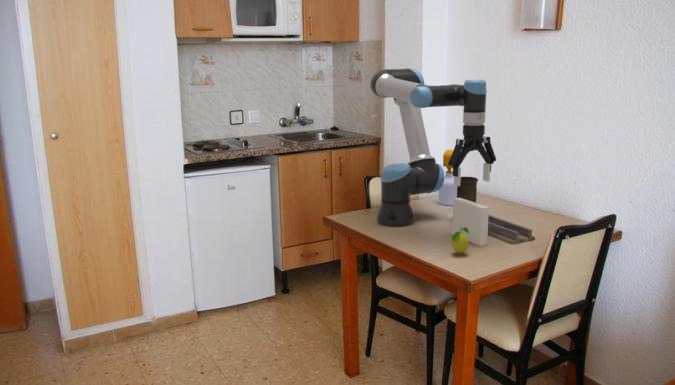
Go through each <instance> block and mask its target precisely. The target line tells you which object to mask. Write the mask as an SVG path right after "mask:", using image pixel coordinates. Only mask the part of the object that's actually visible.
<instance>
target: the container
mask: <svg viewBox="0 0 675 385" xmlns="http://www.w3.org/2000/svg"><path fill="white" fill-rule="evenodd" d="M478 182H479V179H478V178H477V177H474V176H461V181H460V186H457V198H462V199H466V200H469V201H472V202H475V203H477V190H478V189H477V187H478V186H477V185H478Z"/></svg>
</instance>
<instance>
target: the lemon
mask: <svg viewBox="0 0 675 385" xmlns="http://www.w3.org/2000/svg"><path fill="white" fill-rule="evenodd" d="M461 229H462V228H461ZM462 230H463V231H464V232H466V233H469V231H468V228H467V227H464V228H463V229H462ZM460 231H461V230H460ZM460 231H459V232H456V233H454V235H453V234H452V237H451V246H452V249H453V250H454V252H456V253H457V254H458V255H462V253H465V252H467V251H468V250H469V246H470V244H469V241H468V238H467V236H466V235H465V234H463V233H461V232H460Z"/></svg>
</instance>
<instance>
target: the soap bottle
mask: <svg viewBox="0 0 675 385" xmlns="http://www.w3.org/2000/svg"><path fill="white" fill-rule="evenodd" d="M453 150H454V149H447V150H446V151H445V152H444V153H443V156H442V167H446V169H447V170H446V171H445V175H444V182H443V185H442V187H441V188H440V190H438V201H437V202H438V203H439V205H442V206H448V207H449V206H450V207H451V206H452V207H453V199H454V198H457V185H454V176H453V167H452V166H449V165H448V163H449V160H450V158H451V155H452V153H453Z"/></svg>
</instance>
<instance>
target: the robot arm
mask: <svg viewBox="0 0 675 385" xmlns="http://www.w3.org/2000/svg"><path fill="white" fill-rule="evenodd" d="M370 79H371V80H370V82H369V83H370V89H371V92H372V93H373V95H375V96H377V97H379V98H381V99H382V98H383V99H387V98H388V99H389V98H392V99H393V103H394V104H395V105H397V106H398V108H399V114H400V119H401V123H402V128H403V132H404V137H405V138H404V139H405V143H406V147H407V150H408V151H407V152H408V155H409V161H408V163H406V162H405V163H403V162H402V163H393V164H389V165H386V166H384V167H383V169H382V170H381V174H380V176H381V177H380V180H381V181H380V183H381V185H380V186H381V190H380V191H381V192H380V193H381V194H380V195H381V201H380V206H379V209H378V212H377V215H376V219H377V220H376V222H377V223H378V225H379V224H380V225H381V226H382V225H383V226H387V227H404V226H405V227H406V226H410V225H412V224H414V222H415V215H414V212H413V209H412V208H413V207H412V206H411V196H414V195H421V194H431V193H436V192H439V190H440V188H441V187H442V185H443V182H444V177H445V170H444V168H443V166H442V164H439V163H436V162H437V161H436V158H435V157H434V156H433V155H431V152H430V147H429V146H430V145H429V143H428V138H427V133H426V129H425V128H426V127H425V124H424V120H423V116H422V110H421V109H426V108H434V107H435V108H436V107H438V108H439V107H453V106H454V107H463V113H462V114H463V116H462V123H463V125H462V136H463V139H460V138H456V140H455V146H454V148H453V149H452V150H453V153H452V155H451V158H450V160H449V163H448V165H449V166H452V167H453V168H452V171H453V177H454V185H457V186H460V181H461V177H462V173H461V171H462V167H460V166H461V165H462V163H463V162H464V160H465V159H466V157H467V155H468V154H469V153H470V152H475V151H478V153H479V154H480V156H481V157H482V159H483V160H484V162H483V168H482V170H483V171H482V181H484V182H490V181H491V180H490V179H491V172H492V165H494V163H495V162H496V161H497V158H496V154H495V152H494V149H493V146H492V142H491V137H490V136H486V135H485V133H486V126H485V123H486V104H487V92H488V91H487V82H486V80H484V79H466V80H464V83H463V84H457V83H454V84H452V83H451V84H448V85H447V84H446V85H445V84H444V85H428V84H426V83H425V80H424V76H423V74H422V73H421V72H420V71H419V70H417V69H415V68H394V69H393V68H390V69H386V68H385V69H381V70H378V71H377V72H376V73H375V74H373V75H372V77H371V78H370Z"/></svg>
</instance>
